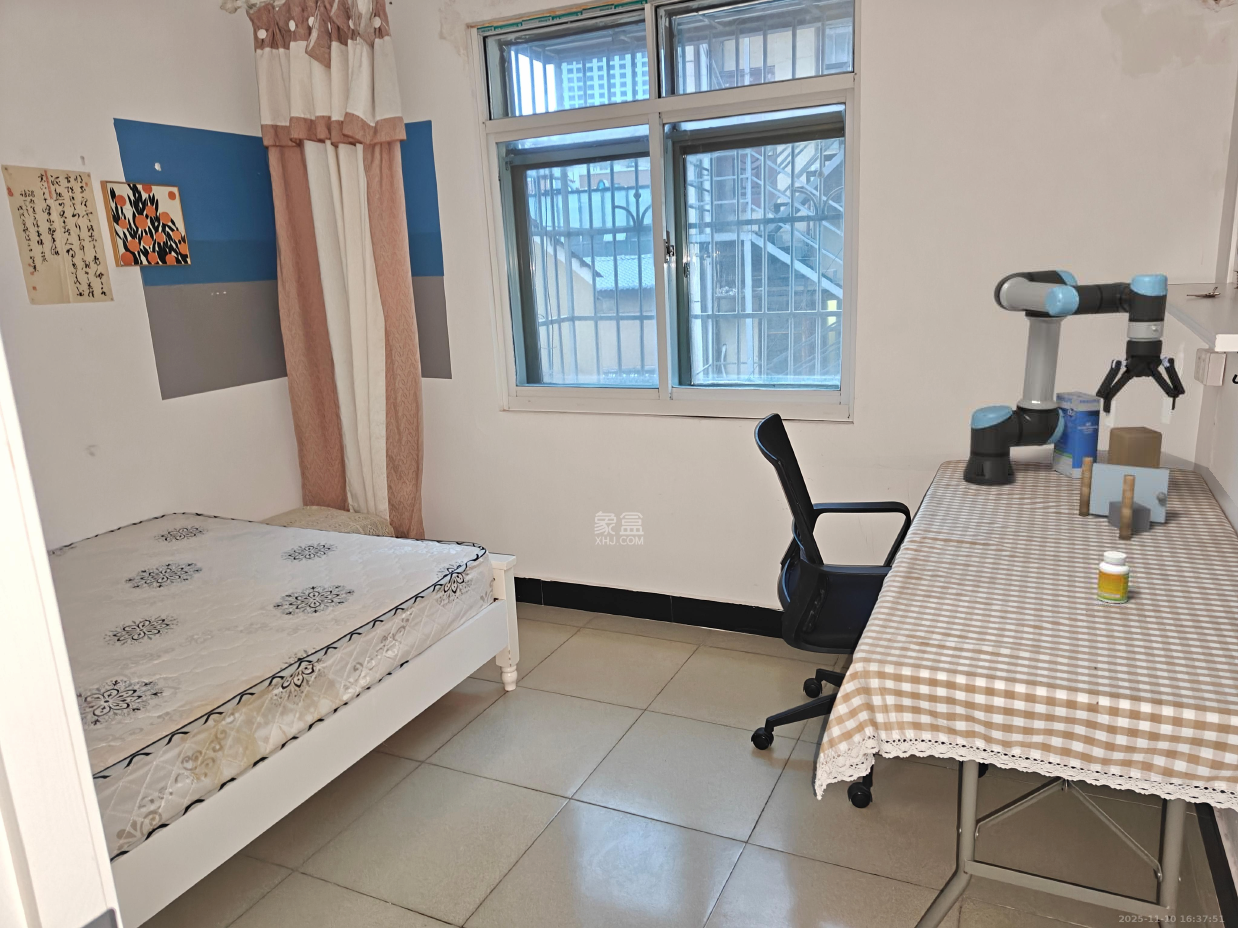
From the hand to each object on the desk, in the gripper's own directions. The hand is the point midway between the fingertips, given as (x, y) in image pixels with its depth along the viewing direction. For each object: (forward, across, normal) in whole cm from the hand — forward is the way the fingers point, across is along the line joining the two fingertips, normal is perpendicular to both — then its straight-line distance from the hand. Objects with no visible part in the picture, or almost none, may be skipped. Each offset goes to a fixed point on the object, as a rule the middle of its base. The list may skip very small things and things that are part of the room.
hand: (1137, 424), depth 209 cm
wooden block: (+27, +14, +26) cm, 40 cm away
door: (+26, +1, +4) cm, 26 cm away
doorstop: (+27, 0, -1) cm, 27 cm away
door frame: (+27, -6, +1) cm, 27 cm away
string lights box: (+27, +12, +56) cm, 63 cm away
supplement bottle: (+27, -28, -47) cm, 61 cm away
